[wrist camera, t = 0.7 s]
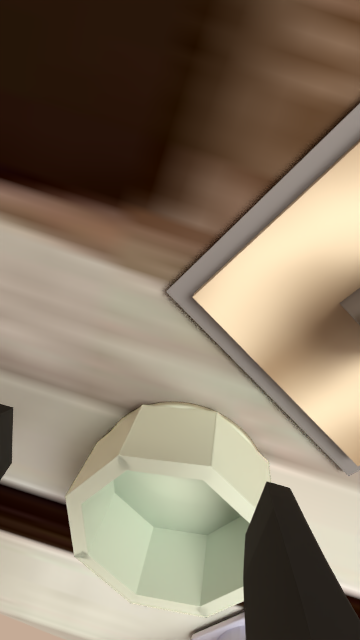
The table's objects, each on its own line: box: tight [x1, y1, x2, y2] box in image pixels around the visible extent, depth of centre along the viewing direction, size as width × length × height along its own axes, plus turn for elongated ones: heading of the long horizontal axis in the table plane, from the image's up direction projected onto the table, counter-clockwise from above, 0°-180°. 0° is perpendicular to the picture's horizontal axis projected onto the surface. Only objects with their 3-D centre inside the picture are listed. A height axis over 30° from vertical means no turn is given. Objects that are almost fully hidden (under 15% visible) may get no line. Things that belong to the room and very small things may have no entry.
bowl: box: [65, 402, 271, 618], centre depth 18 cm, size 10×10×5 cm
